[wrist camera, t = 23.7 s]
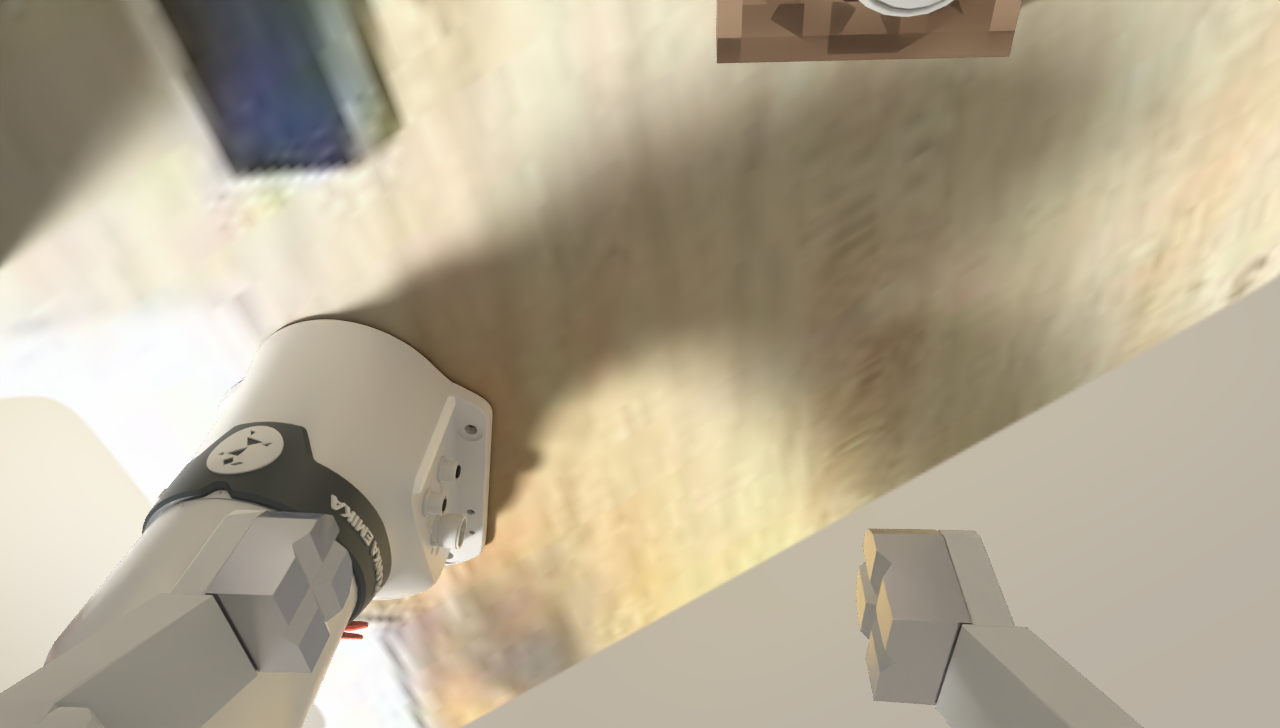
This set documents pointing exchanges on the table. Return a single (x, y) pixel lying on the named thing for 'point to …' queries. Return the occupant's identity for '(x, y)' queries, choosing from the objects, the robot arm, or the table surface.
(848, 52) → the socket block
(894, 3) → the beverage can
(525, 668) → the table surface
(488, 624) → the table surface
